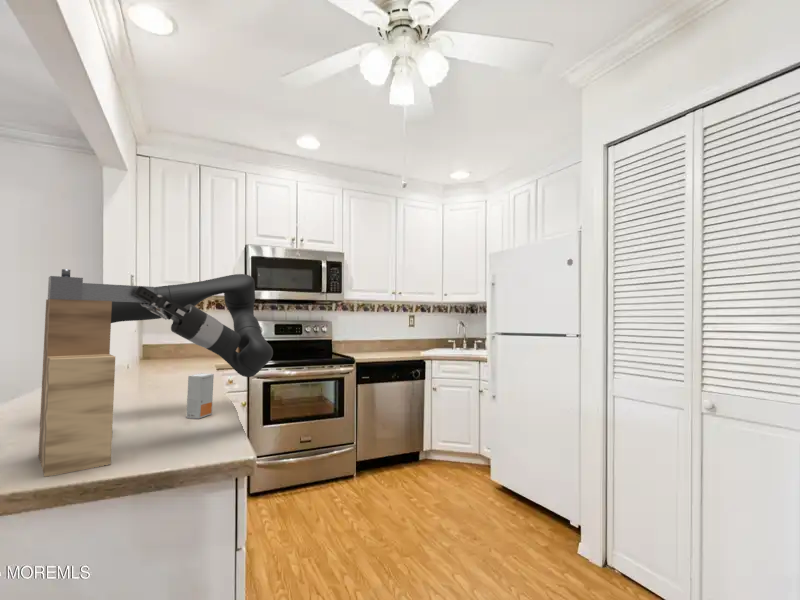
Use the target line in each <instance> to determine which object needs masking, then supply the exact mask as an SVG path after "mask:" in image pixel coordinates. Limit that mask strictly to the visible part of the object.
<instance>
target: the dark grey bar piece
mask: <svg viewBox="0 0 800 600" xmlns="http://www.w3.org/2000/svg"><path fill="white" fill-rule="evenodd" d="M83 281H84V277H77V276H76V277H75V276H74V277H73V276H71V269H67V268H63V269H61V276H59V275H58V276H57V275H50V276H48V286H47V300H48V299H61V300H93V301H114V302H146V303H149V302H147V301H145V300H143V299H142V298H140V297H138V296H136V295H135V294H134V293H135V291H136V290H137V288H138V287H139V286H140V285H131V284H130V285H127V284H125V285H124V284H110V283H109V284H106V283H90V282H89V283H87V282H83ZM143 287H145V288H146V289H148V290H150V291H151V292H153V293H154V287H155V286H148V285H147V286H145V285H143ZM151 303H152V302H151Z"/></svg>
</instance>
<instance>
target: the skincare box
mask: <svg viewBox="0 0 800 600" xmlns="http://www.w3.org/2000/svg"><path fill="white" fill-rule="evenodd" d="M214 379H215V374H214V373H204V372H203V373H202V372H201V373H194V374H192V375H188V380H187V398H186V400H187V401H186V414H185V417H186V418H187V419H198V420H199V419H202V418H205V417H208V416H211V415H213V400H214V399H213V398H214V397H213V396H214V394H213V393H214Z"/></svg>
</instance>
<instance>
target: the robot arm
mask: <svg viewBox="0 0 800 600" xmlns="http://www.w3.org/2000/svg"><path fill="white" fill-rule="evenodd" d="M138 286H139V287H138V288H137V290H136V291H135V293H134V294H135V295H136V296H138V297H140V298H142V299H143V300H145V301H147V302H149V303H146V302H114V301H112V310H111V324H113V323H118V322H119V323H120V322H133V321H135V322H137V321H148V320H149V321H150V320H159V319H163V320H165V321H170V320H172V323H171V325H170V330H171V332H172V333H174V334H176V335H178V336H180V337H181V338H184V339H185V340H188V341H189V342H191V343H192V344H195V345H197V346H199V347H201V348H204V349H206V350H208V351H210V352H212V353H214V354H216V355H218V356H219V357H221V358H222V359H223V360H224V361H225V362H226V363H227V364H228V365H230V367H231V368H232V369H233V370H234V371H235V372H236V373H237V374H238V375H239V376H241V377H246V378H252V377H254V376H256V375H257V374H258V373H259V372H260V371H261V370H262V369H263V368H264V367H265V366H266V365H267V364H268V363H269V362H270V361H271V359H272V358H273V355H274V349H273V347H272V346H271V344H270V343H268V341H267V340H266V338H265V337H264V336H263V334H262V330H261V325H260V322H259V321H258V319H257V317H256V316H255V314H254V310H255V302H256V288H255V287H256V284H255V279H254V277H252V276H251V275H250V274H244V273H242V274H241V273H237V274H231V275H224V276H220V277H215V278H211V279H210V278H209V279H206V280H200V281H193V282H186V283H180V284H168V285H161V286H153V287H154V293H153V292H151V291H150V290H148V289H146V288H145V287H143V286H144V285H143V286H142V285H138ZM221 294H223V296H224V298H223V299H224V302H225V306H226V308H227V310H228V312H229V315H230V316H231V318H232V321H233V329H231V327H229V326H227V325H225V324H223V323H222V322H220V321H219V320H218V319H216V318H215V317H213V316H212V315H210V314H208V313H207V312H205V311H203V310H202V309H200V308H198V307H196V306H197V305H198V304H199V303H201V302H203V301H204V300H206V299H207V298H210V297H212V296H217V295H221ZM151 302H152V303H151ZM238 348H239V350H240V352H238V351H237V349H238Z"/></svg>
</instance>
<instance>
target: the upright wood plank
mask: <svg viewBox="0 0 800 600" xmlns="http://www.w3.org/2000/svg"><path fill="white" fill-rule="evenodd" d="M111 310H112V301H93V300H61V299H48V298H47V299H45V312H44V315H45V316H44V317H45V318H44V335H43V357H42V376H41V378H42V379H41V396H40V398H41V399H40V414H39V415H40V419H39V434H38V435H39V437H38V439H39V440H38V453H37V454H38V455H37V456H38V459H40V460H39V462H40V466H41V469H42V473H43V477H45V478H46V477H51V476H58V475H61V474H68V473H73V472H79V471H83V470H89V469H95V468H99V466H100V467H105V466H104V465H106V466H109V465H108V464H111V465H112V446H113V445H112V443H113V423H114V422H113V420H114V396H115V375H116V356H115V355H112V354H110V352H111V331H112V330H111V329H112V323H111ZM94 467H95V468H94Z"/></svg>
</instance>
